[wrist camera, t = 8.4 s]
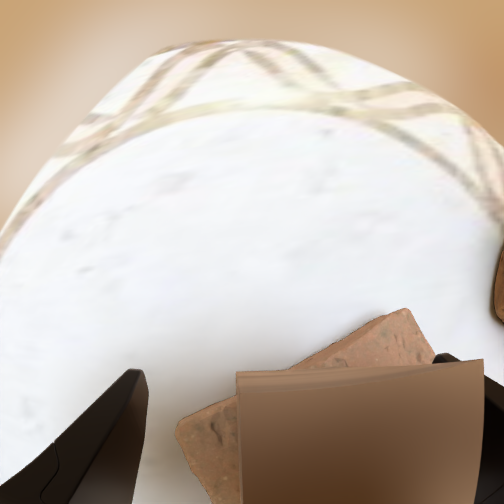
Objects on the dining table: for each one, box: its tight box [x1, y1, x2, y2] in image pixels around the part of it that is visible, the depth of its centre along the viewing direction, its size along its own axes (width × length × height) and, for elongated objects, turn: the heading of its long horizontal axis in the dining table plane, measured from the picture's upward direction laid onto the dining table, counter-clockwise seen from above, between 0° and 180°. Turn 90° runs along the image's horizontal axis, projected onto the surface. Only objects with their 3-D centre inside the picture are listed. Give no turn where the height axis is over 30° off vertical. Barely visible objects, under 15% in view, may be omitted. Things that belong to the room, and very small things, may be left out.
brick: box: [175, 308, 436, 504], centre depth 17 cm, size 17×8×5 cm, turn 116°
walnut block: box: [236, 359, 484, 504], centre depth 10 cm, size 5×5×12 cm
